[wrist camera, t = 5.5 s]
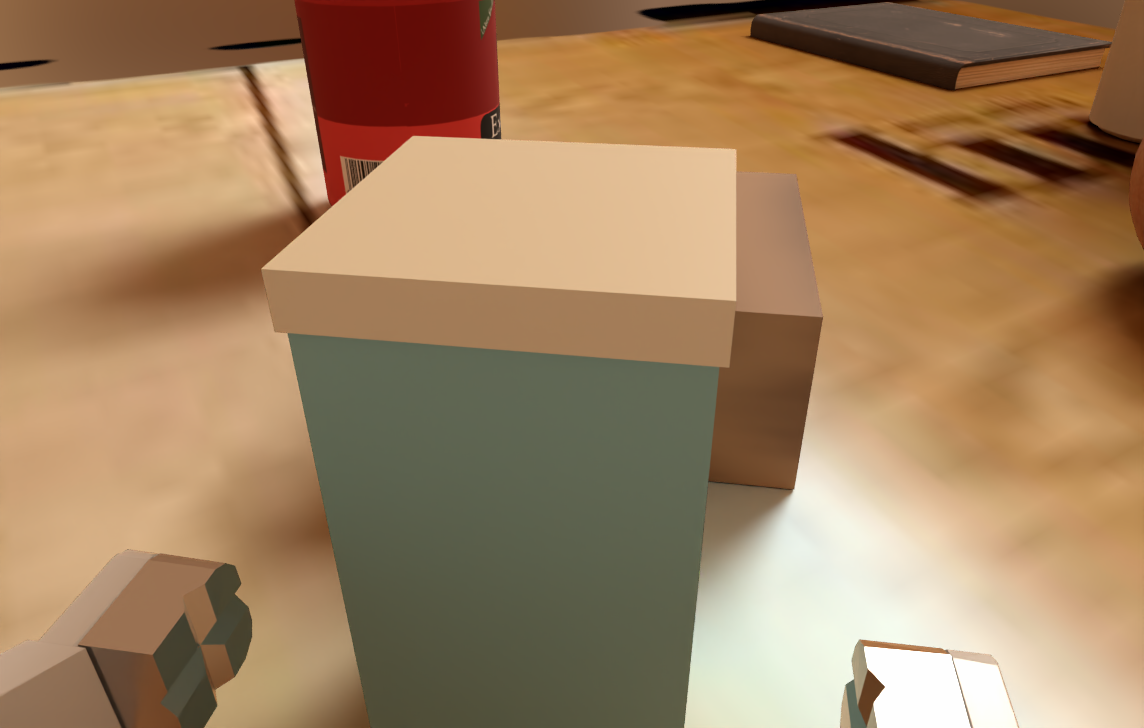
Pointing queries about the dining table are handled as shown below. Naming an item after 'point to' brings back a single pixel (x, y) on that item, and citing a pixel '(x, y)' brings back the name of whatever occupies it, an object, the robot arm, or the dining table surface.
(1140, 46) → the travel mug
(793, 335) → the riser block
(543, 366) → the tea tin
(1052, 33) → the hardcover book
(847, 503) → the dining table surface
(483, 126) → the canned food
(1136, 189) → the onion
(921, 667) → the robot arm
